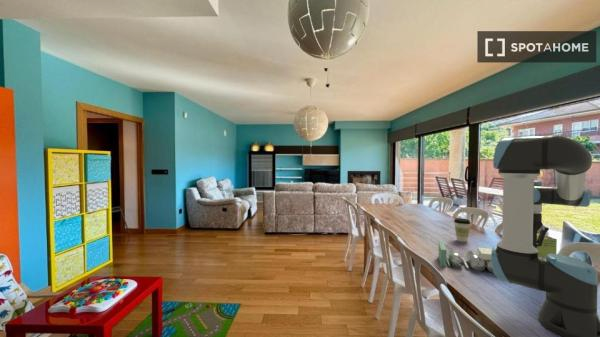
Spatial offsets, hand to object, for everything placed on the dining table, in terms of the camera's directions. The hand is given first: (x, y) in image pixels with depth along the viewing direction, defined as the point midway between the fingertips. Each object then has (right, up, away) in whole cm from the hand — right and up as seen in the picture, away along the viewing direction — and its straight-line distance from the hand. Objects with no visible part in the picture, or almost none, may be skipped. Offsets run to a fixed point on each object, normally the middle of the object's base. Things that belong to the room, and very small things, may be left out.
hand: (530, 259), depth 124 cm
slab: (-12, -1, +5) cm, 13 cm away
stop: (-35, -7, +16) cm, 39 cm away
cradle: (-29, -7, +13) cm, 32 cm away
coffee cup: (0, -6, +53) cm, 53 cm away
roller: (-28, -7, +13) cm, 31 cm away
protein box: (+13, -7, +13) cm, 20 cm away
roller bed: (-14, -7, +6) cm, 17 cm away
